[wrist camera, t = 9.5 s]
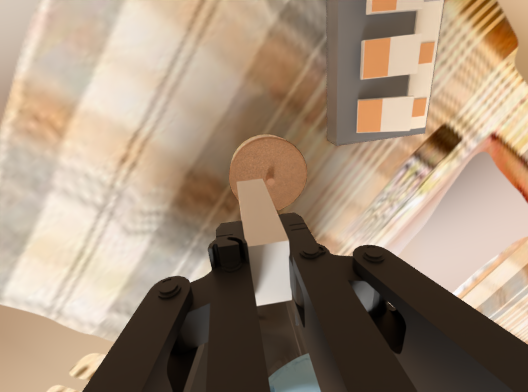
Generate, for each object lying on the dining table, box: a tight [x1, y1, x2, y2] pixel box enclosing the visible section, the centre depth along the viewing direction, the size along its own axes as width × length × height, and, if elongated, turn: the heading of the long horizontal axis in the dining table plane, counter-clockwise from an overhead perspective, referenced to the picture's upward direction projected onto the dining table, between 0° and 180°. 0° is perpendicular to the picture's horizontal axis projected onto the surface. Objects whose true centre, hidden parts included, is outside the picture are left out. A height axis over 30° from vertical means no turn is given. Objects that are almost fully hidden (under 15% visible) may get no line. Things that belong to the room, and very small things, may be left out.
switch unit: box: [327, 0, 444, 146], centre depth 37 cm, size 22×14×5 cm, turn 6°
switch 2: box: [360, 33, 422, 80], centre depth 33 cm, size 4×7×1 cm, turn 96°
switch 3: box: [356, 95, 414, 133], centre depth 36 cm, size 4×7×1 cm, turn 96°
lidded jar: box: [229, 134, 307, 211], centre depth 39 cm, size 11×11×9 cm
